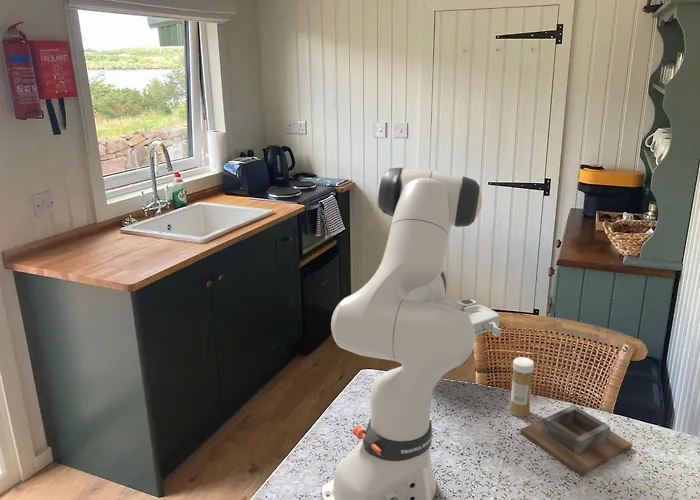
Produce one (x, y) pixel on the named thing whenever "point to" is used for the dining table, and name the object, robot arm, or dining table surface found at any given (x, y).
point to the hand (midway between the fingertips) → (485, 338)
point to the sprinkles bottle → (521, 386)
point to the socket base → (576, 439)
